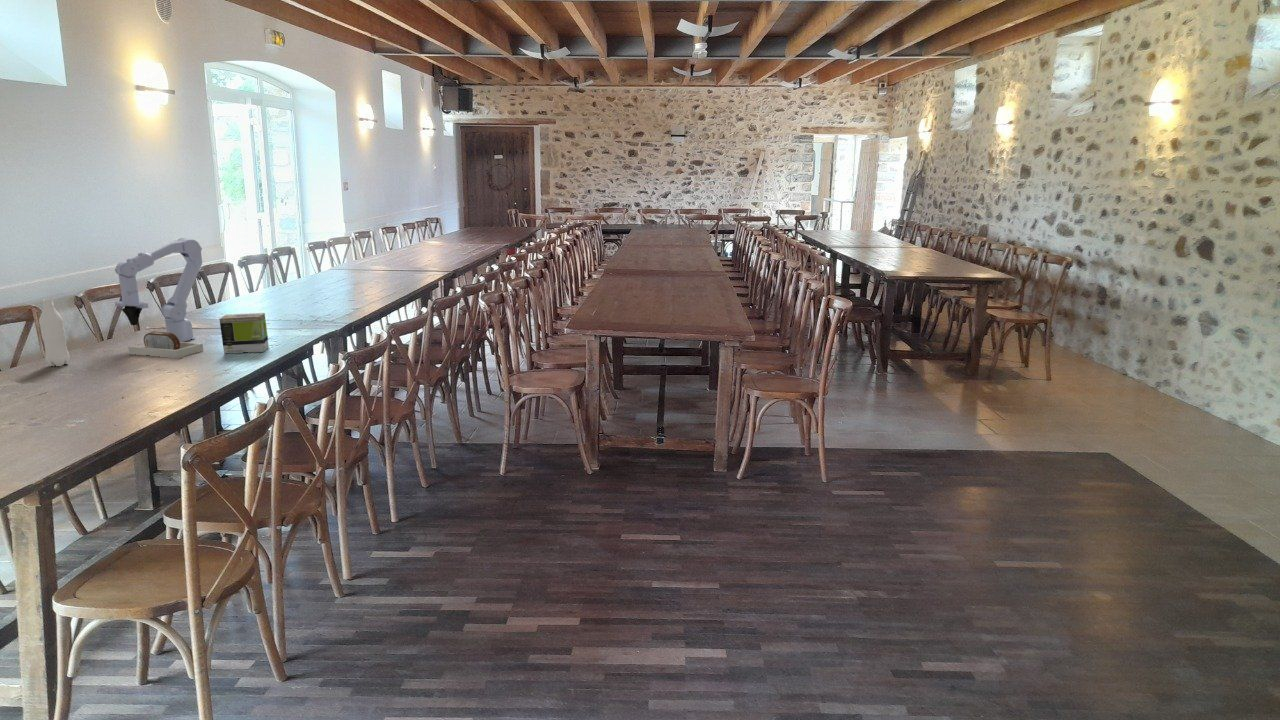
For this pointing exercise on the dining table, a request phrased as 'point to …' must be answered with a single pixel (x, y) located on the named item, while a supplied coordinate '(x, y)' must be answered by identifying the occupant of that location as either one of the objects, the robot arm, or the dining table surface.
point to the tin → (161, 340)
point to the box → (168, 350)
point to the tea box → (244, 333)
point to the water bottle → (53, 335)
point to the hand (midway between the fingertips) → (134, 324)
